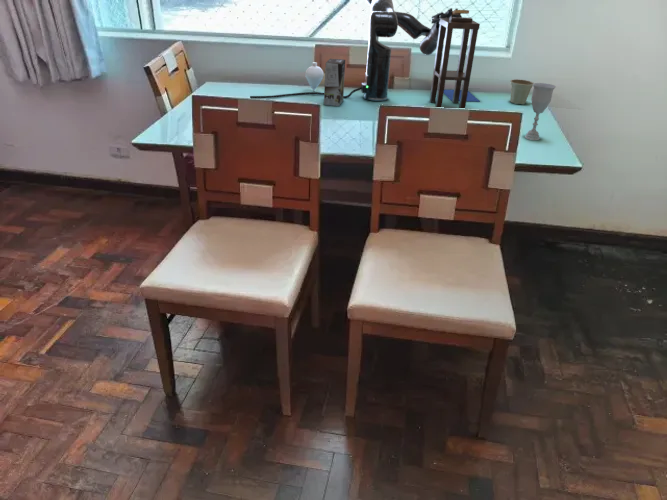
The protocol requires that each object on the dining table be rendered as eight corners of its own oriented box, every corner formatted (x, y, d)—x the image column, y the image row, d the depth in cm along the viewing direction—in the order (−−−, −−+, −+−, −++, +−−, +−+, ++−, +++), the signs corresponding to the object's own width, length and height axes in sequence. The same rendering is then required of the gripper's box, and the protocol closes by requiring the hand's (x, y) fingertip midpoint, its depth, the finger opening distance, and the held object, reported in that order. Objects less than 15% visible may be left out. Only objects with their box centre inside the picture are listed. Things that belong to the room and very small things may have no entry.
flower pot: (529, 101, 237) (533, 80, 233) (529, 106, 230) (534, 85, 225) (506, 98, 239) (510, 78, 235) (506, 104, 232) (510, 83, 227)
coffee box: (339, 106, 217) (341, 63, 208) (323, 105, 217) (324, 62, 209) (343, 100, 224) (346, 59, 216) (328, 99, 225) (329, 57, 217)
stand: (435, 109, 220) (448, 19, 203) (428, 101, 230) (440, 14, 213) (465, 110, 221) (480, 20, 204) (457, 101, 231) (470, 15, 215)
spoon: (442, 15, 222) (444, 1, 219) (455, 15, 223) (458, 2, 220) (454, 24, 207) (456, 9, 204) (468, 25, 207) (471, 10, 205)
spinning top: (302, 93, 231) (303, 63, 225) (307, 89, 238) (308, 59, 232) (320, 95, 230) (321, 65, 224) (325, 90, 237) (326, 61, 231)
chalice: (538, 135, 197) (551, 83, 188) (545, 141, 191) (559, 88, 182) (518, 134, 196) (529, 82, 187) (525, 140, 191) (537, 87, 182)
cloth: (451, 101, 232) (451, 100, 232) (441, 90, 247) (441, 89, 247) (479, 101, 233) (479, 101, 233) (467, 90, 248) (467, 90, 248)
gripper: (457, 38, 234) (471, 21, 216) (425, 36, 232) (436, 19, 215) (457, 20, 234) (471, 1, 216) (425, 19, 232) (436, 0, 215)
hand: (454, 10), depth 216 cm, fingers closed on spoon, 1 cm apart
